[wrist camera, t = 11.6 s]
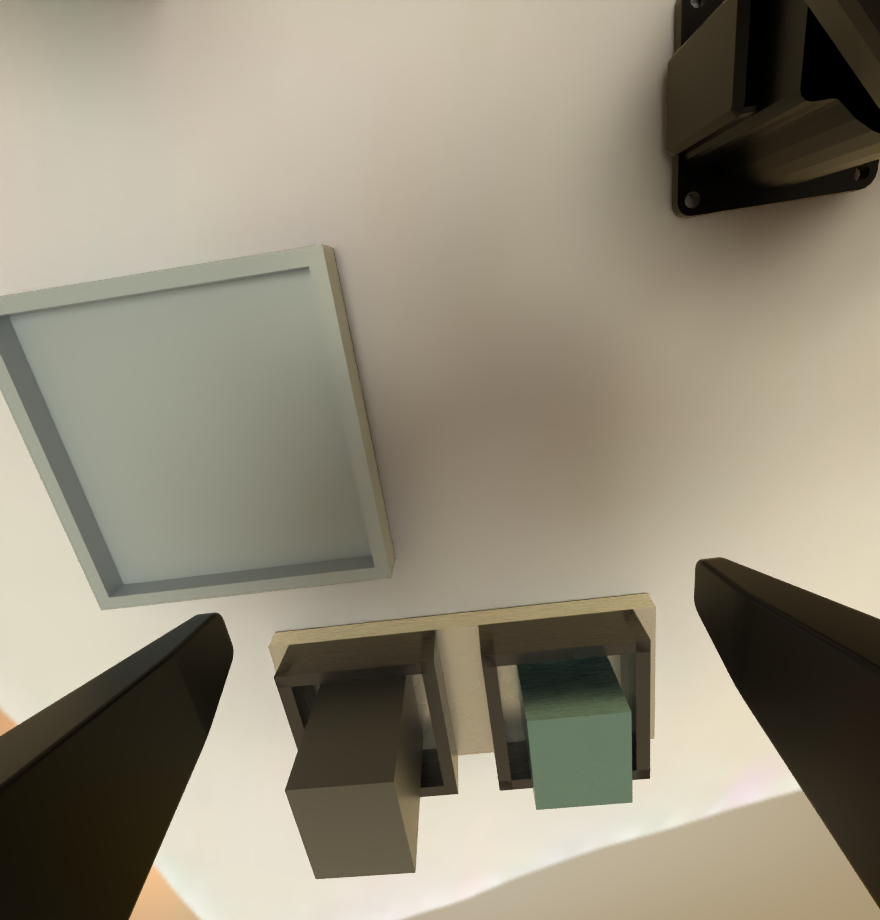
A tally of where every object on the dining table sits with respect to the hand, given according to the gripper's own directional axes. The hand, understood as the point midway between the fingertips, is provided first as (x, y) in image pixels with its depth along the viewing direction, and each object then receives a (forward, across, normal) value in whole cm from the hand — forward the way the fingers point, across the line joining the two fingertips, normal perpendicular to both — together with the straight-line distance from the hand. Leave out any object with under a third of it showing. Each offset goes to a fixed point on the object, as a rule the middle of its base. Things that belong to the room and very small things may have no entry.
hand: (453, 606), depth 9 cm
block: (+10, +6, +13) cm, 18 cm away
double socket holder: (+12, +1, +13) cm, 17 cm away
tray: (+12, +10, -1) cm, 15 cm away
